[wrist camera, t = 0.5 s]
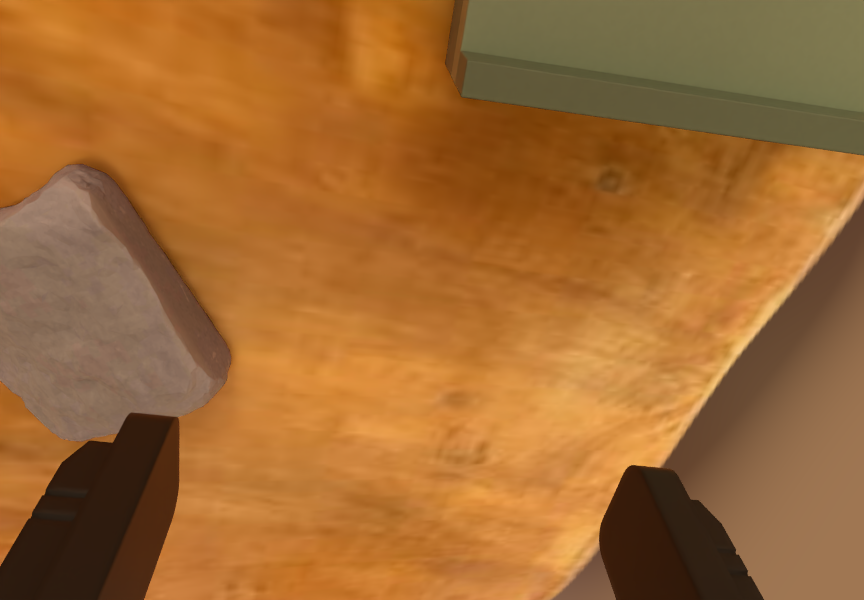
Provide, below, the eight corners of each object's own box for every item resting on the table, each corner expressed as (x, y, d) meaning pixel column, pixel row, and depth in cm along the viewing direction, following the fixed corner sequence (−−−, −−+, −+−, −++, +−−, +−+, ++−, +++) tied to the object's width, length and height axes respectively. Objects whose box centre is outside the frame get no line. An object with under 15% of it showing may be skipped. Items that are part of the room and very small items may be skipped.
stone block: (104, 400, 36) (256, 357, 33) (50, 464, 32) (218, 423, 29) (-48, 212, 31) (116, 141, 28) (-137, 261, 27) (45, 184, 24)
